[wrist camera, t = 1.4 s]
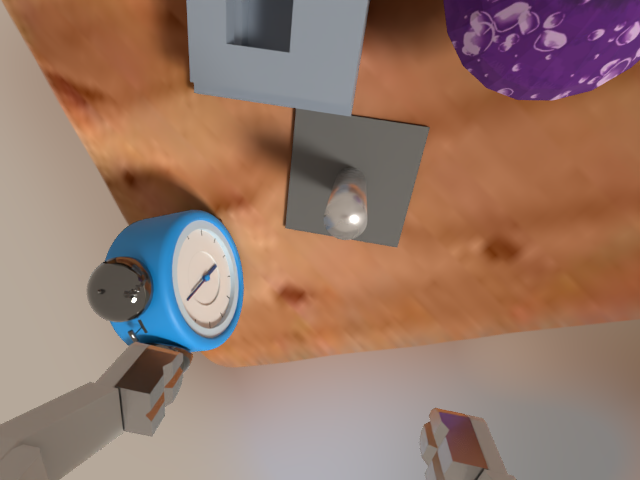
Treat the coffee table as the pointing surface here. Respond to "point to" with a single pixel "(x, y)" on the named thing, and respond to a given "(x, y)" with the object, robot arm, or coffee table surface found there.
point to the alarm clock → (171, 283)
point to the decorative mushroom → (544, 43)
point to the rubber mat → (358, 152)
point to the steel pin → (347, 205)
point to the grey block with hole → (278, 51)
